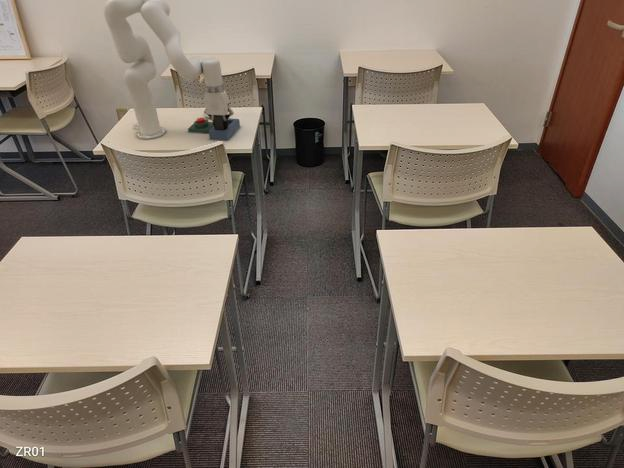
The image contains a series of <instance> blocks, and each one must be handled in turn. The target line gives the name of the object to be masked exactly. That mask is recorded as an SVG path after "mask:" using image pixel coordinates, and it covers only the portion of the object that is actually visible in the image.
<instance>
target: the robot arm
mask: <svg viewBox="0 0 624 468" xmlns="http://www.w3.org/2000/svg"><path fill="white" fill-rule="evenodd" d="M170 12H171V7H170V5H169V3H168V2H167V1H166V0H107V1H106V2H105V4H104V6H103V16H104V20H105V22H106V25H107V27H108V29H109V32H110V34H111V38H112V41H113V43H114V46H115V49H116V52H117V54H118V57H119V59H120V60H121V62H123V63H124V64H131V65H130V66H129V67H127V69H125V71H124V73H123V81H124V84H125V86H126V89H127V91H128V93H129V97H130V100H131V102H132V106H133V110H134V115H135V118H136V121H137V123H133V124H132V130H133V131H134V130H135V131H136V130H137V133H136V135H137V137H138V138H139V139H143V140H151V139H156V138H160V137H162V136H163V135H164V134H165V133H166V129H165V128H164V127H163V126H161V124H160V123H161V122H160V119H159V115H158V111H157V107H156V102H155V98H154V94H153V92H152V90H151V89H150V88H151V87H149V83H151V81H153V80H154V79H155V78H156V76H157V67H156V63H155V60H154V57H153V54H152V51H151V48H150V45H149V43H148V41H147V40H146V39H145V38H144V37H143V36H142V35H140V34H134V32H133V29H132V27H131V24H130V23H129V21H128V20H127V18H128V17H130V16H133V15H135V14H140V15H141V17H142V19H143V20H144V22H145V23H146V24H147V25H148V27H149V28H150V29H151V30H152V32H153V33H154V34H155V35H156V37H157V38H158V39H159V41H160V42H161V43H162V44H163V48H164V50H165V54H166V56H167V59H168V61H169V62H170V64H171V66H172V68H174V70H175V71H176V72H177V74H178V75H179V76H180V77H181V78H182V79H184V80H185V81H188V82H193V81H196V80H197V79H198V78H200V75H202V74H204V84H203V85H202V88H203V89H206V90H205V92H204V106H205V109H204V110H205V111H204V110H203V112H204V113H205V114H206V115H208V116H209V117H210V118H209V119H210V120H211V121H212V122H213V126H214V128H215V123H214V117H213V116H214V115H222V116H223V119H224V121H223V125H224V129H227V127H228V118H231V117H232V116H233V115H234V114H235V113H234V111H233V109H232V108H231V104H230V100H229V96H228V93H227V91H226V89H225V88H224V81H223V73H222V67H221V62H220V60H219V59H218V58H217V57H203V56H196V55H195V56H192V57H190V58H188V57H187V56H186V55H185V53H184V51H183V49H182V47H181V32H180V30H179V29H178V28H177V26H176V25H175V24H174V22H173V21H172V20H171V18H170V17H169V15H170ZM215 129H216V128H215Z"/></svg>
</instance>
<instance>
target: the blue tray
mask: <svg viewBox="0 0 624 468" xmlns="http://www.w3.org/2000/svg"><path fill="white" fill-rule="evenodd" d="M240 128H241V123H240V118H231V117H229V118H228V127H227V129H225V130H216V129H215V128H214V126H213V127H212V128H211V129H210V130H209V133H208V136H209V137H208V138H209V140H210V141H211V140H212V141H213V140H214V141H226V142H227V141H229V140H230V139H231V138H232V137H233V136H234V134H235V133H236V132H237V131H238V130H239V129H240Z"/></svg>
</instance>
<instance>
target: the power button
mask: <svg viewBox="0 0 624 468" xmlns="http://www.w3.org/2000/svg"><path fill="white" fill-rule="evenodd" d="M205 119H206V118H205V117H198V118H197V119H196V120H197V123H198V124H201V123H205Z"/></svg>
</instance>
